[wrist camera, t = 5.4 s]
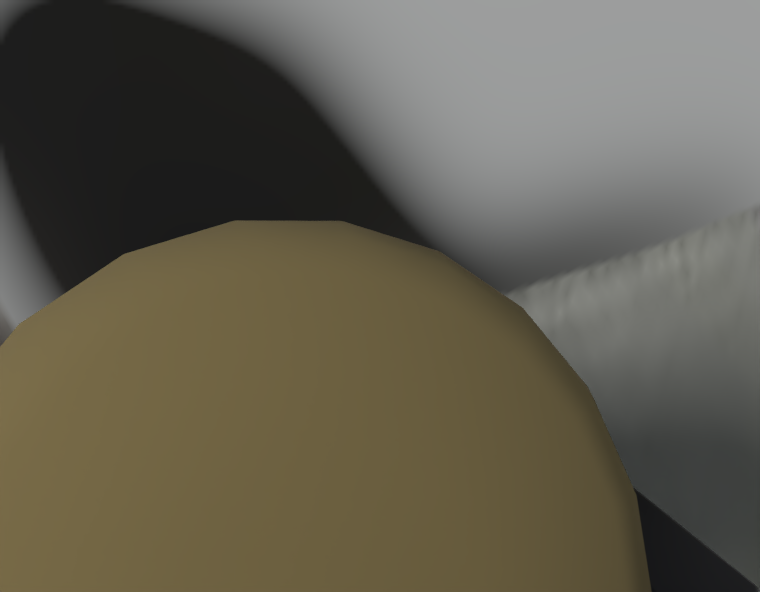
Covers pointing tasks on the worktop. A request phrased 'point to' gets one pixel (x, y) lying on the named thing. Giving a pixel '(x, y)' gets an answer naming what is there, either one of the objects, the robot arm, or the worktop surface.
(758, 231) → the worktop surface
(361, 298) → the cork
